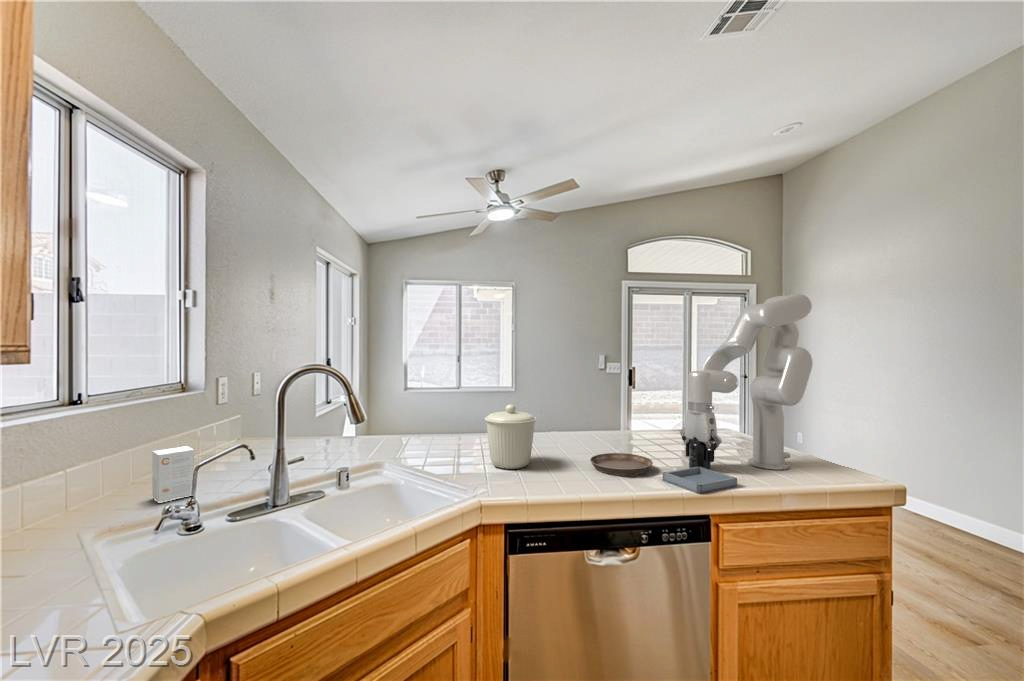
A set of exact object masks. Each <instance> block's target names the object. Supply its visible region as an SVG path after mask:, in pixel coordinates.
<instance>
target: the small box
mask: <svg viewBox="0 0 1024 681" xmlns="http://www.w3.org/2000/svg"><path fill="white" fill-rule="evenodd" d="M151 460H152V463H151V464H152V465H151V467H152V468H151V469H152V471H151V472H152V475H151V476H152V481H151V482H152V486H151V487H152V490H151V491H152V492H151V493H152V495H151V496H153V497H154V498H155V499H156V500H157V501H165V500H170V499H173V498H177V497H185V496H190V494H191V488H192V479H193V473H194V474H195V449H194V448H192V447H190V446H188V445H183V446H179V447H172V448H165V449H159V450H152V459H151Z"/></svg>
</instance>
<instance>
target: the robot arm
mask: <svg viewBox="0 0 1024 681" xmlns="http://www.w3.org/2000/svg"><path fill="white" fill-rule="evenodd" d="M812 306H813V305H812V301H811V300H810V298H809V297H808V296H806V295H805V294H801V293H799V294H798V293H795V294H788V295H779V296H772V297H770V298H767V299H766V300H764V302H763V303H755V304H751V305H747V306H745V307H744V308H743V309H742V310H741V312H740V313H739V316H738V317H737V319H736V321H735V322H734V325H733V327H732V328H731V331H730V333H729V335H728V336H727V339H726V340H725V341H724V342H723V343H722V344H720V345H719V346H718V347H716V349H715V350H714V351H713V352H712V353H711V354H710V355H709V356H708V357H707V358H706V360H705V362H704V363H703V366H702V367H701V370H693V371H692V370H691V371H690V372H689V373H688V378H687V379H688V383H687V384H688V385H687V386H688V388H687V391H688V393H687V394H688V395H687V396H688V397H687V406H688V408H687V411H686V412H685V420H684V427H683V428H682V429H681V430H679V434H680V436H681V440H682V441H683V444H684V446H685V457H687V458H689V443H690V442H691V441H693V440H694V439H693V438H697V439H698V440H697V441H700V442H703V443H705V445H706V447H707V449H708V450H706V462H707V463H710V462H711V463H714V462H715V451H717V448H719V447H720V445H721V443H722V442H723V440H722V438H721V437H720V436H719V435H718V432H717V431H718V429H717V419H716V415H715V412H713V411H714V410H715V406H714V405H713V393H720V394H730V393H733V392H734V391H735V390H736V389H737V388H738V387H739V380H738V379H739V378H738V377H737V376H736V374H735V373H733V372H731V371H726V370H724V369H725V368H726V367H727V366H728V365H729V364H730V363H732V362H733V361H735V360H736V359H737V360H738V359H739V358H741V357H743V356H745V355H747V354H749V353H750V352H751V351H752V349H753V348H754V347H755V344H756V342H757V340H758V338H759V336H760V334H761V333H762V330H763V329H771V334H770V338H769V341H768V344H767V348H766V350H765V354H764V357H763V360H762V361H763V363H762V364H763V367H764V368H765V370H767V372H771V373H775V374H781V376H779V375H770V374H768V375H767V374H766V375H765V374H763V375H759V376H757V377H754V379H753V380H752V381H751V383H750V386H749V387H750V388H749V391H750V398H751V403H752V418H753V419H752V457H750V458H748V459H747V464H748V465H750V466H752V467H755V468H756V467H757V468H758V469H759V468H760V469H765V470H766V469H767V470H775V471H776V470H777V471H778V470H779V471H781V470H782V471H783V469H784V470H787V469H789V468H790V464H789V463H788V462H786V461H785V460H786V459H789V458H791V453H790V452H788V451H787V452H785V451H784V450H785V449H784V448H785V445H784V444H785V443H784V442H785V415H784V410H783V408H782V406H786V407H793V406H796V405H797V404H799V403H800V402H801V400H802V399H803V397H804V394H805V391H806V389H807V386H808V382H809V379H810V376H811V372H812V370H813V369H812V368H813V357H812V354H811V353H810V352H809V350H807V349H806V348H803V347H801V346H798V342H799V337H800V334H799V333H800V332H799V329H798V327H797V324H796V322H797V321H800V320H803V319H805V318H806V317H807V316H808V315H809V314H810V313H811V311H812ZM710 445H711V446H710Z"/></svg>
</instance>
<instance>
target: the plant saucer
mask: <svg viewBox="0 0 1024 681" xmlns="http://www.w3.org/2000/svg"><path fill="white" fill-rule="evenodd" d="M589 461H590V464H591V465H592V466H593V467H594V468H595V469H596V470H597V471H598V472H601V473H603V472H604V474H607V473H608V474H607V475H611V474H613V475H612V476H619V475H634V476H640V475H643V474H645V473H646V472H647V471H648V470H649V469H650V468H651V467H652V466H653V463H654V462H653V460H652V459H651V458H648V457H646V456H643V455H639V454H634V453H624V452H623V453H622V452H609V453H600V454H596V455H593V456H591V457H590V458H589ZM639 474H640V475H639Z"/></svg>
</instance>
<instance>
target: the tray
mask: <svg viewBox="0 0 1024 681" xmlns="http://www.w3.org/2000/svg"><path fill="white" fill-rule="evenodd" d="M662 481H663V482H665V481H666V482H665V483H668V484H671V485H674V486H676V487H679V488H681V489H685V490H687V491H689V492H693V493H695V494H699V495H701V494H706V493H711V492H712V493H713V492H717V491H722V490H725V489H732V488H736V487H738V477H735V476H732V475H728V474H725V473H722V472H718V471H715V470H712V469H710V470H709V469H706V468H702V467H693V468H689V467H687V468H683V469H682V468H681V469H674V470H669V471H664V472H662ZM731 487H732V488H731Z"/></svg>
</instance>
